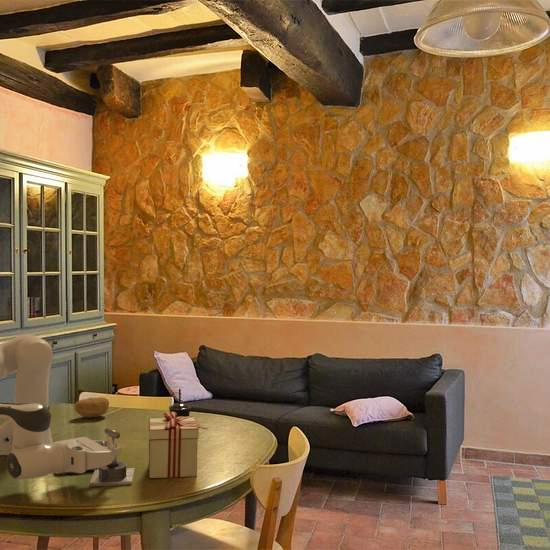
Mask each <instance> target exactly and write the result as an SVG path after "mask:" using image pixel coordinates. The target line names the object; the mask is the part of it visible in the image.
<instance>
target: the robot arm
mask: <svg viewBox="0 0 550 550" xmlns="http://www.w3.org/2000/svg"><path fill="white" fill-rule="evenodd" d="M53 357H54V356H53V349H52V347H51V345H50V343H48V341H47V340H44V339H43V338H41V337H39V336H36V335H33V334H23V335H20V336H17V337H15V338H12V339H10V340H8V341H5V342H2V343H0V381H1V380H3V379H4V378H6V377H7V376H9V375H11V374H13V373H15V372H16V378H15V384H14V403H13V402H11V403H10V402H0V421H2V420H3V421H4V420H5V422H4V423H2V424H1V425H0V456H7V457H6V467H7V471H8V473H9V475H10V476H11V478H12V479H15V480H29V479H37V478H42V477H46V476H49V475H50V474H56V473H62V472H75V473H74V474H83V473H86V471H85V469H86V470H90V469H95V468H98V469H99V467H103V466H106V465H109V464H110V463H112V457H113V456H115V455H117V456H118V455H121V454H122V448H121V447H119V446H117V447H115V448H114V449H111V450H110V449H108V440H107V439H100V440H99V439H97V440H96V439H95V440H92V439H90V438H89V437H87V436H81V437H75V438H69V439H62V440H57V441H53V438H52V433H51V432H52V431H51V420H52V413H51V409H50V408H51V406H50V404H49V381H50V376H51V375H50V373H51V368H52V360H53ZM106 447H107V448H106Z"/></svg>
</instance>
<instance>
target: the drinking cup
mask: <svg viewBox="0 0 550 550" xmlns="http://www.w3.org/2000/svg"><path fill="white" fill-rule="evenodd" d="M181 393H182V391H181V388H179V389H178V403H174V404H172V405H170V406H168V410H169V412H176V413H177V417H179V416H181V417H188V416H190V411H191V408H192V407H191V405H188V404H186V403H183V402H182V399H181V398H182V396H181V395H182V394H181Z"/></svg>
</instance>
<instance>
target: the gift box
mask: <svg viewBox="0 0 550 550" xmlns="http://www.w3.org/2000/svg"><path fill="white" fill-rule="evenodd" d="M163 415H164V417H163V418H162V417H160V418H159V417H157V418H148V465H147V469H148V472H149V479H165V478H186V477H198V440H199V434H200V433H199V429H203V430H208V429H209V428H208V427H204V426H203V425H200V424H199V423H197V421H196V418H195V417H194V415H189V416H188V417H181V416H179V417H177V413H176V412H170V411H168V412H163Z"/></svg>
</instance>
